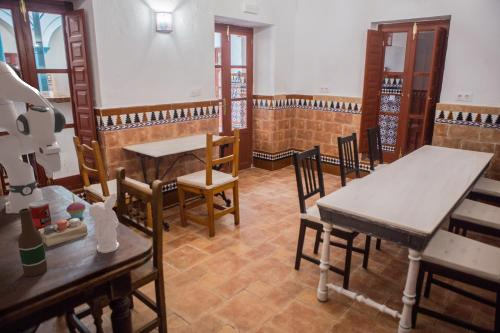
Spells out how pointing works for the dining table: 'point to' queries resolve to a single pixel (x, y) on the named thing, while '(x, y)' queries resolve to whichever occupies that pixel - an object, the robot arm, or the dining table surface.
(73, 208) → the cupcake
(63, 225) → the red plug
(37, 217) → the canned food
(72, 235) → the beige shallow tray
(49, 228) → the graphite plug
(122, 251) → the dining table surface
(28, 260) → the beer bottle
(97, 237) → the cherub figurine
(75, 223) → the white rounded piece
